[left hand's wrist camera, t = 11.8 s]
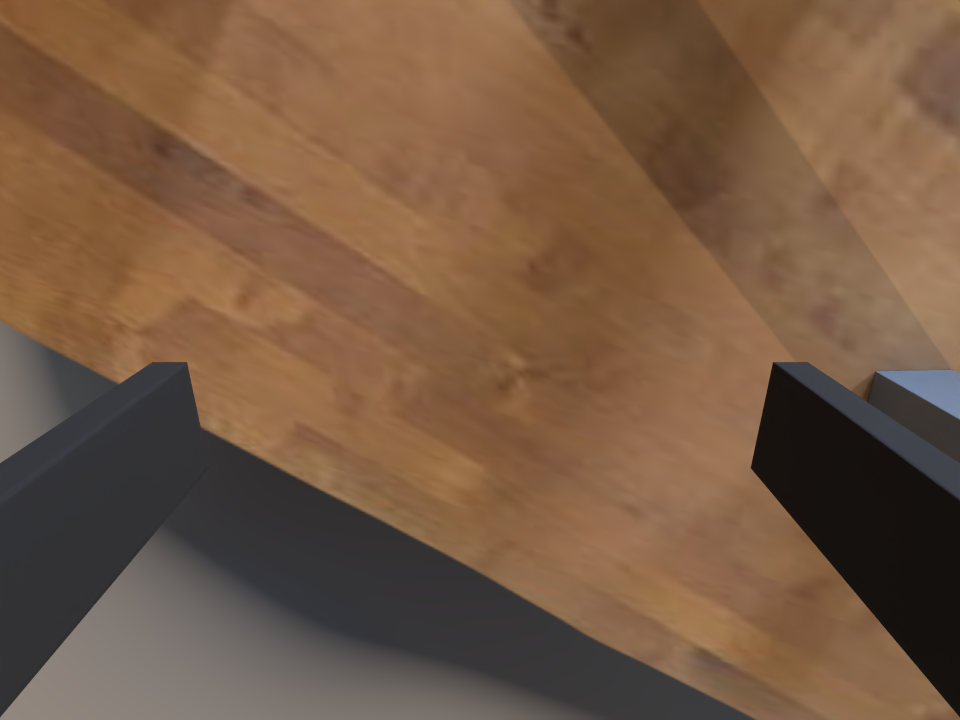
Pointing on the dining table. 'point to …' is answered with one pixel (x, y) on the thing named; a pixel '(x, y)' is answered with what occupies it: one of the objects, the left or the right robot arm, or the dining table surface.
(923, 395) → the block
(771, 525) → the dining table surface
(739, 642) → the dining table surface
